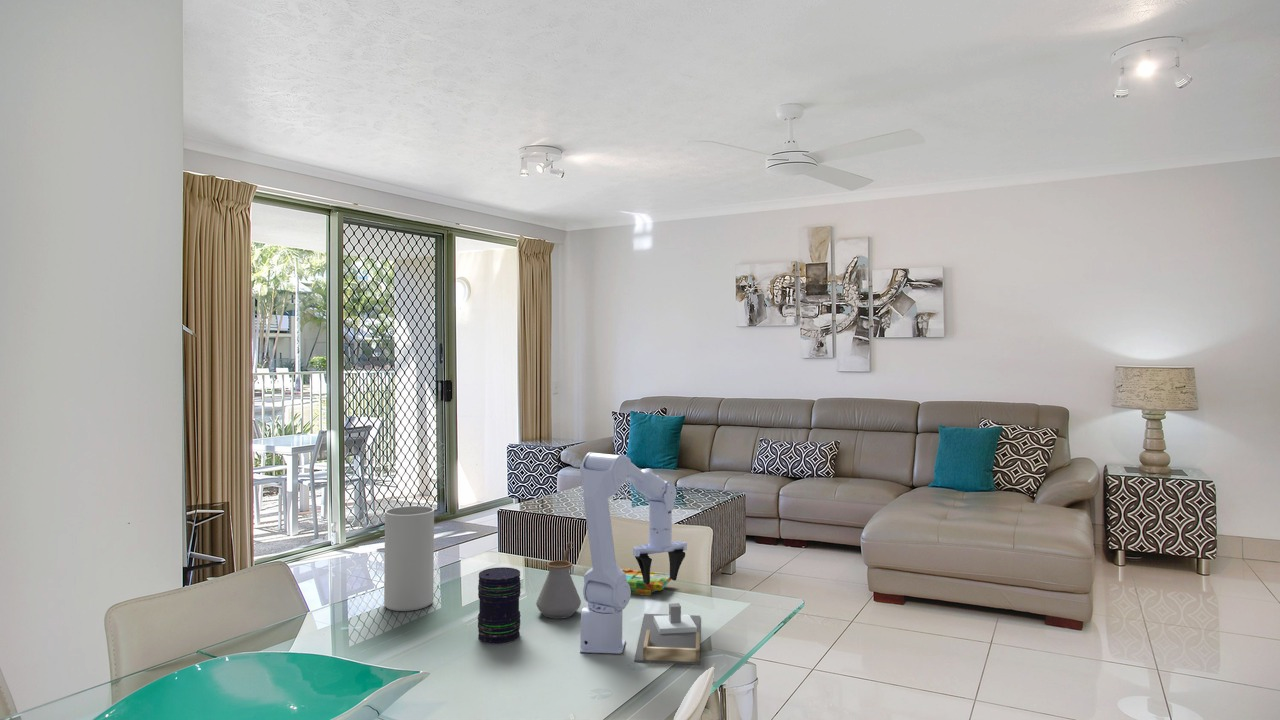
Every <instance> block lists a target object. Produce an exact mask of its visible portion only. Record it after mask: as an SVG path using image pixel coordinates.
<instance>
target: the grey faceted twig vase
mask: <svg viewBox="0 0 1280 720" xmlns="http://www.w3.org/2000/svg"><path fill="white" fill-rule="evenodd" d="M572 545H575V543H574V542H572V541H568V542H567V543H566V549H565V551H564V554H563V559H562V560H552V561H549V562H547V563H546V567H547V568H548V573H547V576H546V579H545V580H544V583H543V584H542V585H543V586H542V588H541V589H540V590H541V591H540V592H539V594H538V595H539V596H538V598H537V600H536V602H535V604H536V607H537V609H538V611H540V613H542V614H543V616H544V617H546V618H549V619H550V618H551V619H557V620H558V619H566V618H571V617H572V616H573V615H574V614H575V613H576V612H577V611H578V610H579V608H580V607H581V604H582V600H581V598H580V595H579V593H578V590H577V588H576V586H575V583H574V580H573V578H572V576H571V574H570V570H571V569H572V567H573V563H572V562H570V561H568V558H569V555H570V550H571V549H572V548H574V546H572Z"/></svg>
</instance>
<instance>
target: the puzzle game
mask: <svg viewBox="0 0 1280 720" xmlns="http://www.w3.org/2000/svg"><path fill="white" fill-rule="evenodd" d="M620 569H621V570H622V571H623V572H624V573H625V574H626V579H627V582H628V584H629V586H630V590H631V593H632V594H631V595H638V594H643V595H642V596H647V595H650V596H651V595H652V594H653V593H652V592H655V591H657V592H661V591H663V590H664V588H666V587H667V585H668V584H669V583H670V582H671V580H672V579H670V573H667V572H666V573H665V572H658V571H657V572H656V571H650V584H645V583H644V582H643V576H642V572H641V570H636V569H632V568H631V567H630V568H629V567H628V568H620ZM651 593H652V594H651Z"/></svg>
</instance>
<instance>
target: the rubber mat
mask: <svg viewBox="0 0 1280 720" xmlns="http://www.w3.org/2000/svg"><path fill="white" fill-rule="evenodd" d="M663 615H668V614H664V613H663V614H661V613H659V614H658V613H643V617H642V623H641V627H640V632H639V636H638V637H639V638H638V640H637V646H636V650H635V654H634V659H633V662H634V663H649V662H650V663H651V664H652V663H654V664H675V665H676V664H677V665H681V664H682V665H698V666H699V665H701V654H700V655H699V662H684V661H659V660H643V646H644V641H645V636H646V631H647V630H650V644H649V647H671V648H696V632H690V633H668V634H660V633H659V631H658V629H657V627H656V625H655V623H654V616H663ZM689 615H690V617H691V619H692V620H693V622H694V623H695V625H696V627H697V632H700V633H701V616H700V615H696V614H695V615H691V614H689Z"/></svg>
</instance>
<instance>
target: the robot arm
mask: <svg viewBox="0 0 1280 720" xmlns="http://www.w3.org/2000/svg"><path fill="white" fill-rule="evenodd" d="M579 469H580V470H579V471H580V477H581V478H580V479H581V486H582V490H583V491H582V492H583V493H582V495H583V496H582V497H583V505H584V512H585V513H584V514H585V520H586V521H585V522H586V529H587V535H588V541H589V549H590V550H589V551H590V559H591V565H592V567H591V568H589V569H587V571H586V572H585V574H584V575H583V580H584V584H583V589H582V592H583V593H582V594H583V599H584V600H585V602H586V603H587V606H583V607H582V609H581V615H580V649H579V652H580V653H589V654H590V653H595V654H596V653H597V654H618V655H620V654H622V653H624V647H625V644H626V638H623V610H624V609H626V607H627V606H628V604H629V603H630V599H631V595H632V594H631V590H630V586H629V584H628V582H627V579H626V574H625V573H624V572H623V571H622V570H621V569H622V568H621V567H620V566H618V565H617V560H616V553H615V551H616V550H615V546H614V537H613V535H614V534H613V530H612V520H611V511H610V506H609V505H610V504H609V499H610V497H612V496H614V495H616V494H617V493H618V491H619V490H620V488H621V487H622V486H623V485H624V483H625V482H626V480H627V481H628V482H632V485H633V488H634V489H635V490H636V491H638V492H639V493H640V494H642V495H643V496H644V498H645V500H646V502H648V504H649V505H648V506H649V507H648V510H649V512H648V515H649V516H648V543H647V544H642V545H638V546H633V547H632V555H633V556H634V558H635V560H636V561H637V562H636V563H637V564H638V567H639V568H640V571H641V572H642V576H643V582H644V583H645V584H650V572H651V568H652V566H651V565H652V561H653V559H652V558H651V557H650V555H652V554H653V555H654V554H660V553H667V554H668V559H669V574H670V579H671V580H672V581H674V582H675V581H677V578H678V574H679V569H680V567H681V565H682V563H683V560H685V557H686V552H685V551H687V550H688V543H687V542H686V541H684V540H683V541H672V530H673V529H672V528H673V527H672V525H673V524H672V522H673V521H672V520H673V514H672V512H673V511H674V508H675V500H676V497H677V490H676V489H677V488H676V486H675V484H674V483H673V482H672V481H670V480H664V479H662V476H660V475H656V474H655V473H654V471H653V470H654V469H652V468H647V467H646V468H643V469H640V468H639V467H637V465H635V464H634V463H633V462H632V459H631V458H630V457H627V456H626V455H625V454H611V453H610V454H609V453H600V452H594V451H589V452H588V453H586V455H585V456H584V457H583V460H582V462H581V463H580V466H579Z"/></svg>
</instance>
